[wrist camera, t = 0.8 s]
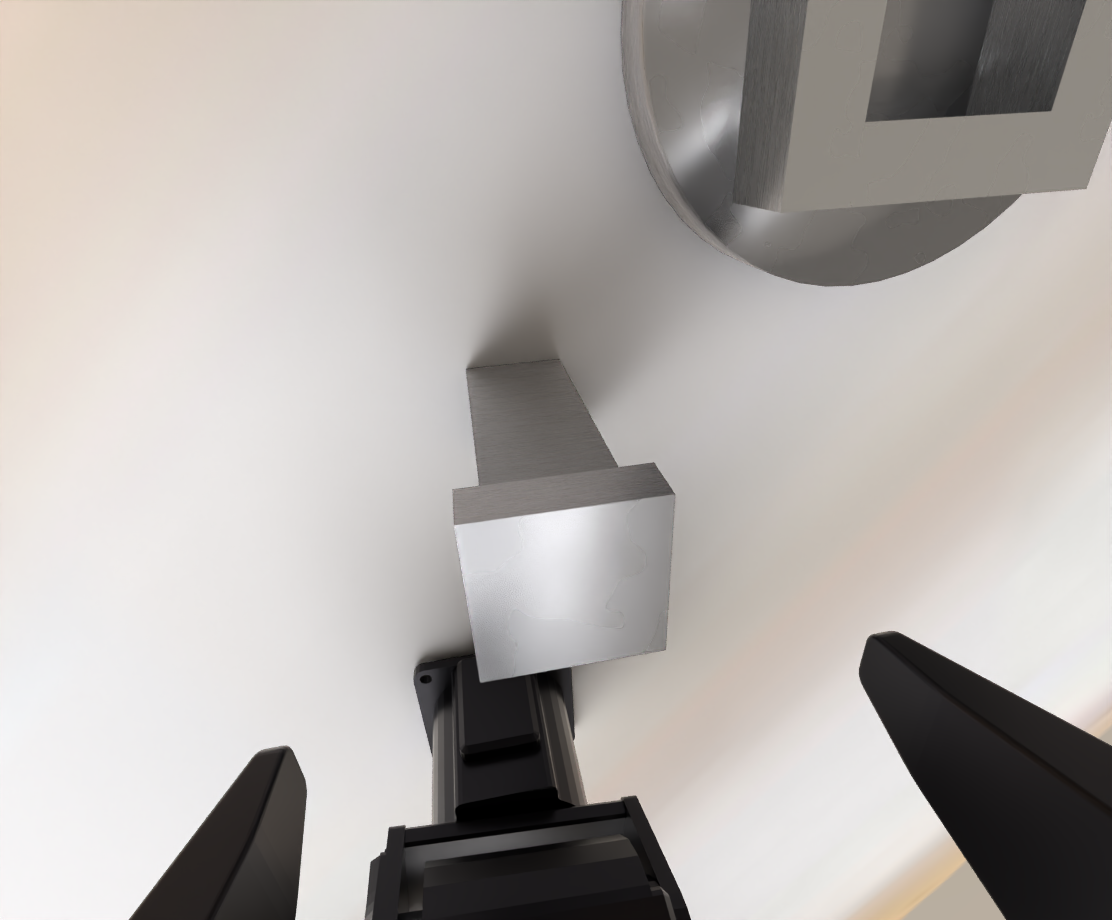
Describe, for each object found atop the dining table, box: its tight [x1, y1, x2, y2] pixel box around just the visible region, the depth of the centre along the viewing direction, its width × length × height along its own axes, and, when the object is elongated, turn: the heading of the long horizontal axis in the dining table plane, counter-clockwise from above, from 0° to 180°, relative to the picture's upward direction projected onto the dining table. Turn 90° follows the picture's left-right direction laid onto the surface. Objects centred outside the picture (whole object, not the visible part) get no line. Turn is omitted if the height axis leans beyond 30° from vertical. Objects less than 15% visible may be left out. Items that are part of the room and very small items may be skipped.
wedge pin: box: [453, 359, 675, 683], centre depth 15 cm, size 4×4×9 cm
